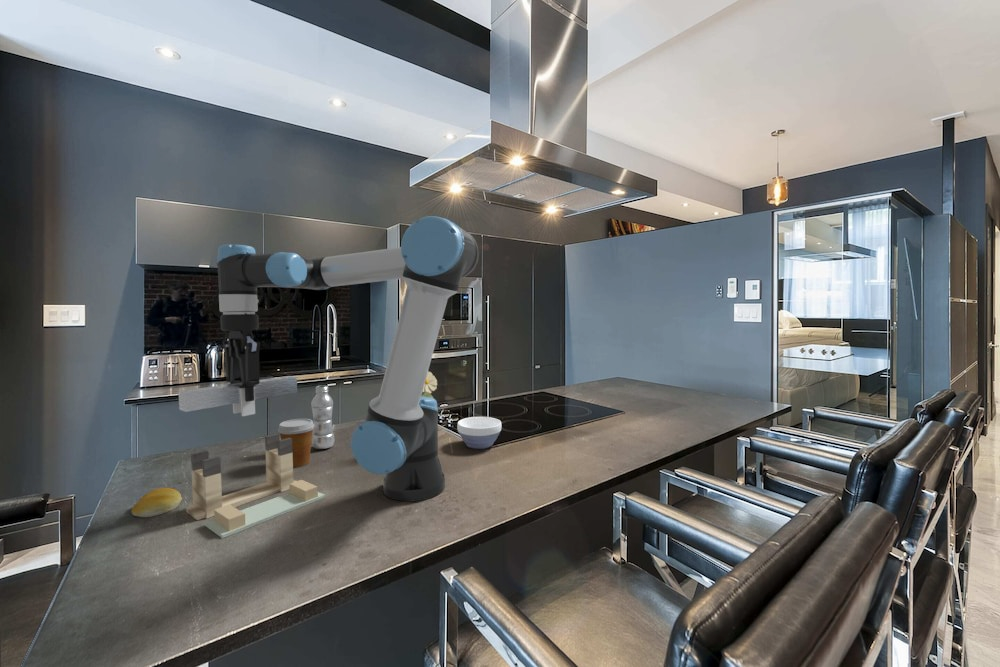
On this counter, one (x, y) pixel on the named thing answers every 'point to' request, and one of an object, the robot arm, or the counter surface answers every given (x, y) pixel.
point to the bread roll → (157, 502)
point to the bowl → (479, 431)
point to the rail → (234, 393)
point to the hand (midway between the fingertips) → (244, 413)
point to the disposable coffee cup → (298, 439)
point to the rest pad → (262, 509)
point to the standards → (210, 489)
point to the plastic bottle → (322, 418)
